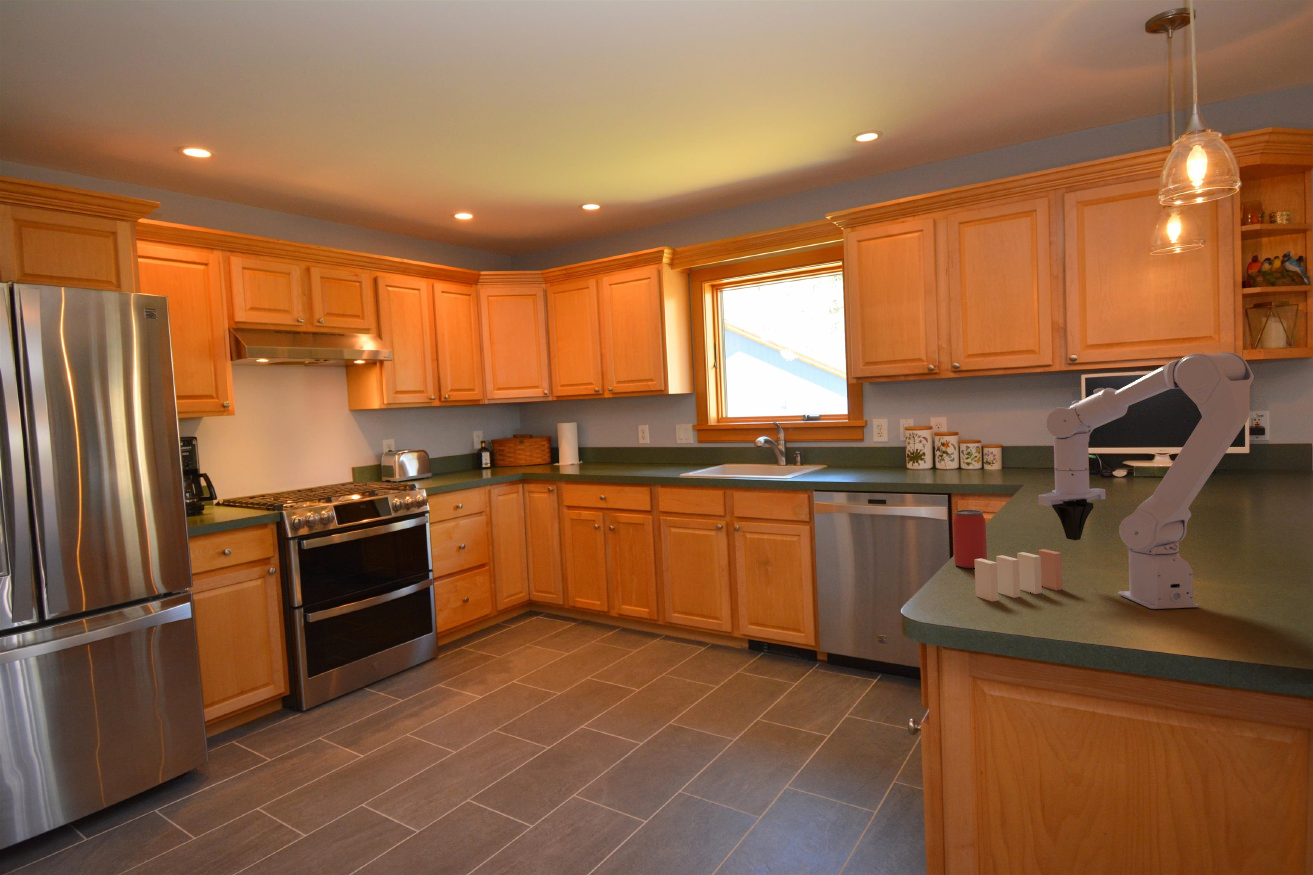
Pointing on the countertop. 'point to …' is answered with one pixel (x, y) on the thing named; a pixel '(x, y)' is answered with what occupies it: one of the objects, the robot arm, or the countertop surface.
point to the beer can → (969, 537)
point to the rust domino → (1051, 569)
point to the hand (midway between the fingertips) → (1073, 539)
